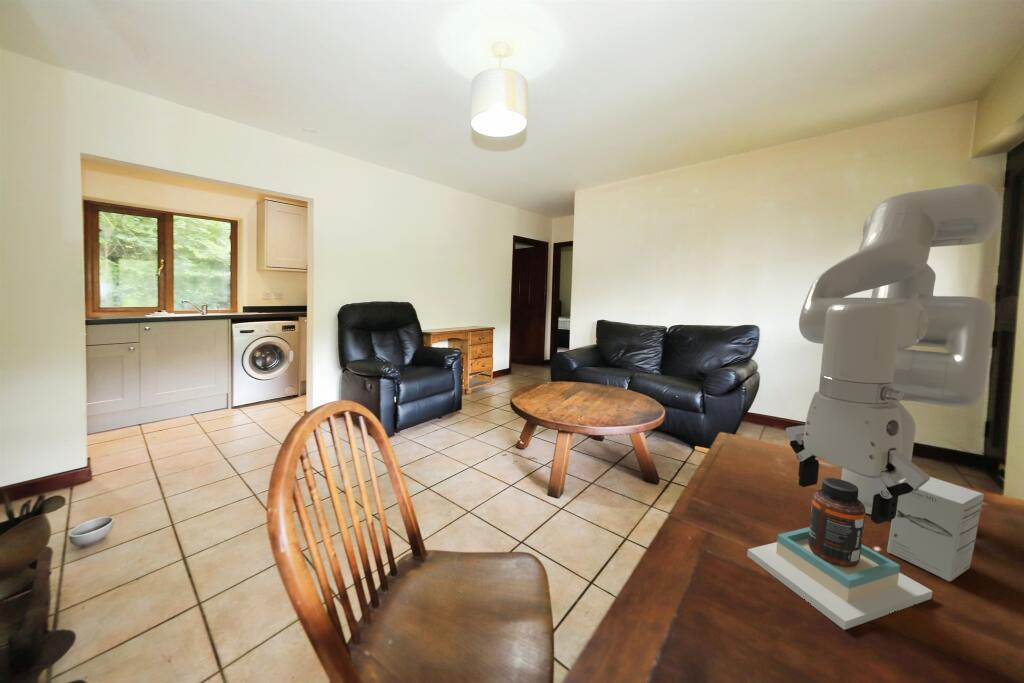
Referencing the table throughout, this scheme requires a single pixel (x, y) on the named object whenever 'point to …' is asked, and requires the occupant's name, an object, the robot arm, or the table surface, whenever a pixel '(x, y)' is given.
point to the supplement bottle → (837, 523)
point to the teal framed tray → (839, 580)
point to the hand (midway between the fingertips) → (841, 501)
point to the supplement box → (936, 527)
